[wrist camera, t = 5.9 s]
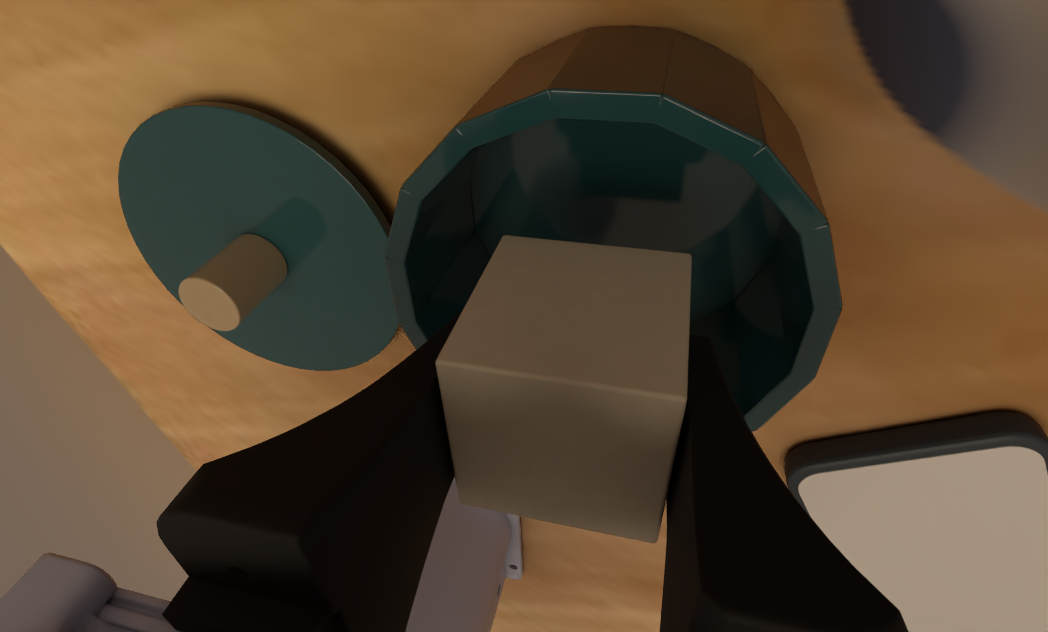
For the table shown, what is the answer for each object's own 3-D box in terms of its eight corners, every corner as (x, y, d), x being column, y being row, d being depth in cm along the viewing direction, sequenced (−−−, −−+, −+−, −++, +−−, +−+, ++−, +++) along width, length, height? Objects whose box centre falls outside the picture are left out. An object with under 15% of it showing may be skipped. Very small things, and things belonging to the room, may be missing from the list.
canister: (757, 357, 21) (771, 488, 17) (473, 319, 24) (419, 426, 19) (855, 30, 14) (924, 105, 10) (440, 21, 17) (344, 79, 12)
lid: (432, 372, 26) (393, 444, 23) (205, 337, 29) (142, 398, 26) (384, 103, 19) (316, 154, 16) (83, 88, 21) (-29, 128, 18)
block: (667, 390, 15) (656, 546, 12) (510, 367, 16) (457, 504, 13) (692, 252, 13) (688, 399, 9) (502, 233, 14) (432, 361, 10)
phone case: (771, 441, 24) (868, 638, 31) (775, 471, 23) (875, 670, 30) (1035, 395, 20) (1082, 636, 26) (1057, 429, 19) (1100, 673, 25)
